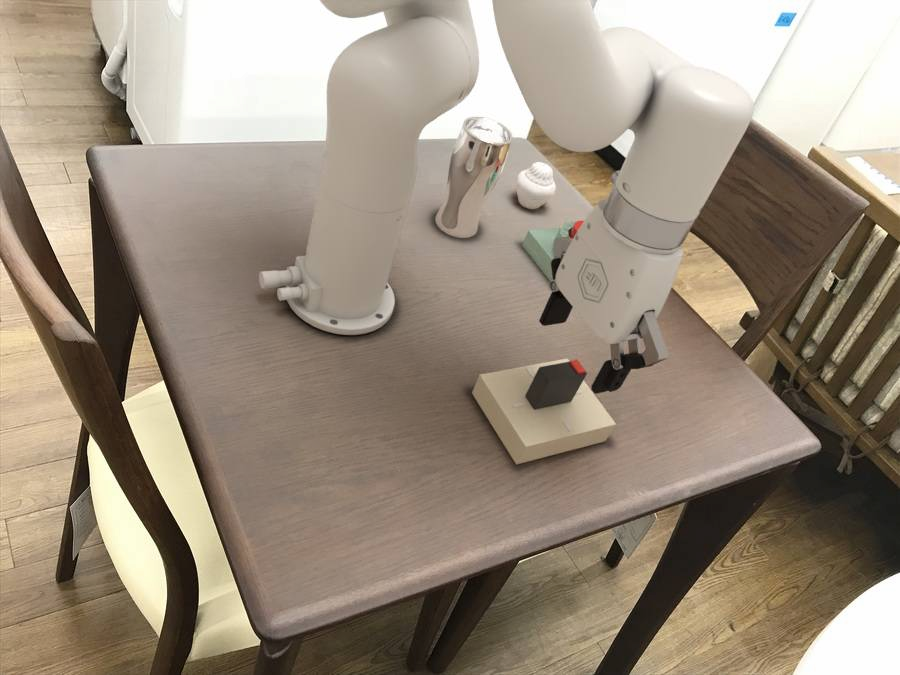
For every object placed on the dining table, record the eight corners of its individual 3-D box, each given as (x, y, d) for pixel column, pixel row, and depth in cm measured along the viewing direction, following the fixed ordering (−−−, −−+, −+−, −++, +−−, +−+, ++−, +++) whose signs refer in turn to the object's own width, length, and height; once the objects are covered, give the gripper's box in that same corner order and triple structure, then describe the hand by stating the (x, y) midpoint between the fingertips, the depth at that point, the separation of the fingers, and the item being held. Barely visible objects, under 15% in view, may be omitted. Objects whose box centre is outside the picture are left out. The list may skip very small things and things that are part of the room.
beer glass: (475, 246, 104) (510, 151, 95) (426, 229, 104) (457, 132, 94) (483, 220, 110) (517, 127, 100) (437, 204, 110) (467, 109, 100)
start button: (579, 249, 103) (584, 239, 102) (564, 231, 106) (568, 221, 105) (602, 247, 105) (607, 237, 104) (586, 229, 108) (591, 219, 107)
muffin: (501, 197, 116) (516, 157, 111) (524, 187, 120) (540, 148, 115) (532, 219, 114) (548, 180, 109) (555, 209, 118) (572, 170, 113)
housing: (554, 287, 103) (567, 261, 100) (521, 245, 108) (532, 219, 105) (621, 279, 109) (635, 254, 106) (587, 239, 114) (599, 215, 111)
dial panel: (516, 464, 78) (526, 445, 76) (471, 392, 84) (479, 373, 82) (605, 441, 84) (617, 423, 82) (558, 375, 90) (567, 357, 88)
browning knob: (534, 410, 80) (550, 379, 77) (524, 396, 81) (540, 365, 78) (571, 401, 83) (588, 371, 80) (561, 388, 84) (578, 358, 81)
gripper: (560, 161, 69) (504, 303, 81) (678, 283, 59) (595, 426, 70) (623, 159, 73) (561, 295, 84) (743, 273, 63) (655, 410, 74)
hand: (576, 354), depth 77 cm, fingers open, 9 cm apart
